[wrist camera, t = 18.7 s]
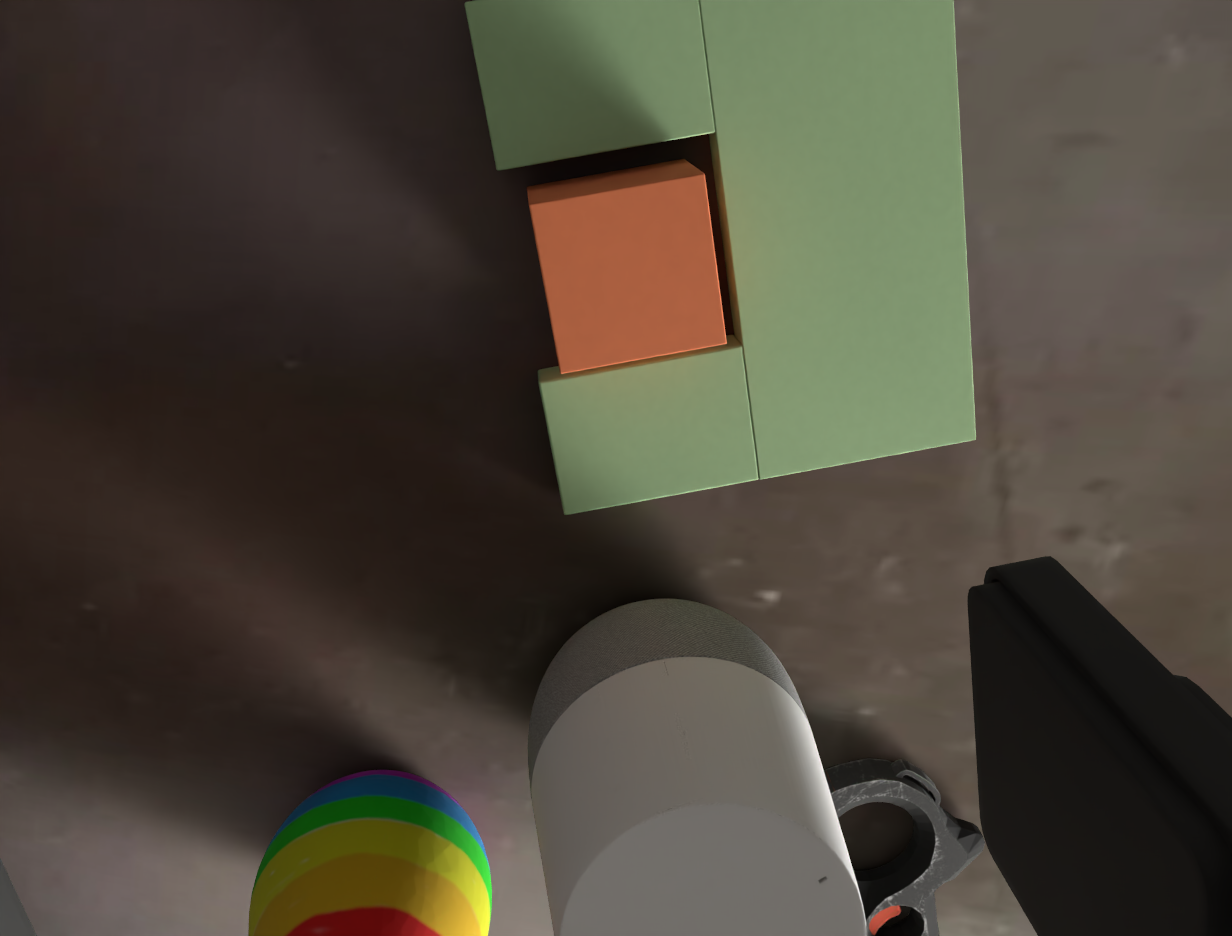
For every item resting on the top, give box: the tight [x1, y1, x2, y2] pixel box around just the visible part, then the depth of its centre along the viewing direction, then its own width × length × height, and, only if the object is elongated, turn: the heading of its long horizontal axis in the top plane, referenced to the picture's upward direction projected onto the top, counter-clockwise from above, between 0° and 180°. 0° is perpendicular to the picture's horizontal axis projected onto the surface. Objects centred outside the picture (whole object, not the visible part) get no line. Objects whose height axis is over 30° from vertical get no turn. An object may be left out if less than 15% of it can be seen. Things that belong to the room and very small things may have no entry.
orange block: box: [527, 159, 727, 374], centre depth 35 cm, size 5×5×4 cm
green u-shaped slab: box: [465, 0, 976, 515], centre depth 36 cm, size 16×14×2 cm
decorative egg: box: [249, 770, 492, 936], centre depth 39 cm, size 8×8×10 cm
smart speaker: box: [528, 599, 866, 936], centre depth 36 cm, size 10×9×14 cm
